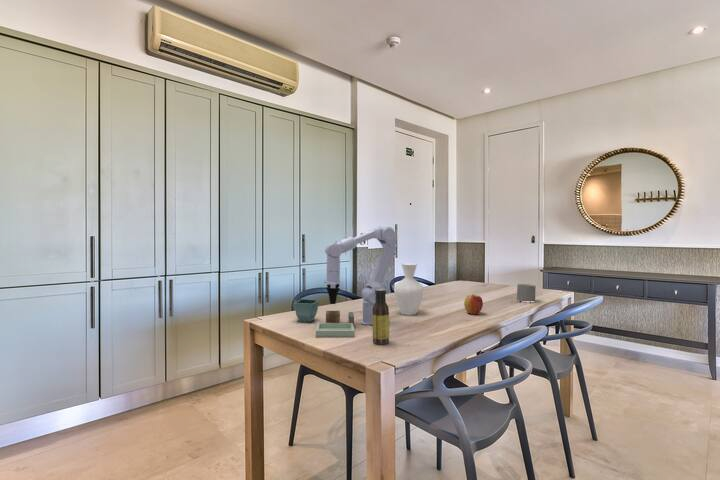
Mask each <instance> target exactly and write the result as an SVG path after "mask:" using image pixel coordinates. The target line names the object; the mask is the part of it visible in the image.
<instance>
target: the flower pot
mask: <svg viewBox="0 0 720 480" xmlns="http://www.w3.org/2000/svg"><path fill="white" fill-rule="evenodd" d="M319 301H320V300H318V299H304V298H303V299H299V300H296V301H295V302H294V308H295V310H294V312H295V315H296V317H297V319H298V321H299V322H304V323H305V322H306V323H310V322H311V323H312V321H314V319H315V317H316V315H317V313H318V308H319V303H320V302H319Z"/></svg>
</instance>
